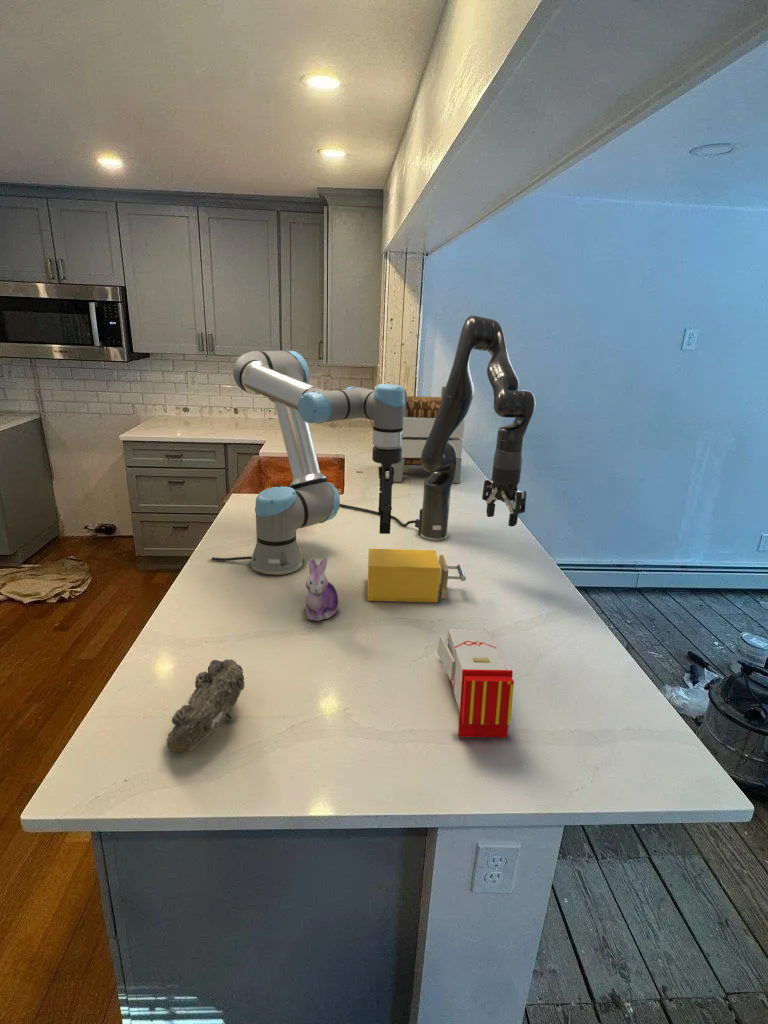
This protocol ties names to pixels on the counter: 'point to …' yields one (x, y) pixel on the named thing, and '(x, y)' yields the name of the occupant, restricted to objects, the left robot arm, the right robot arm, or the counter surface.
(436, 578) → the cabinet
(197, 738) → the fossil
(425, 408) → the grey crate
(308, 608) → the figurine
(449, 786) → the counter surface
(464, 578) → the drawer
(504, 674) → the toy
